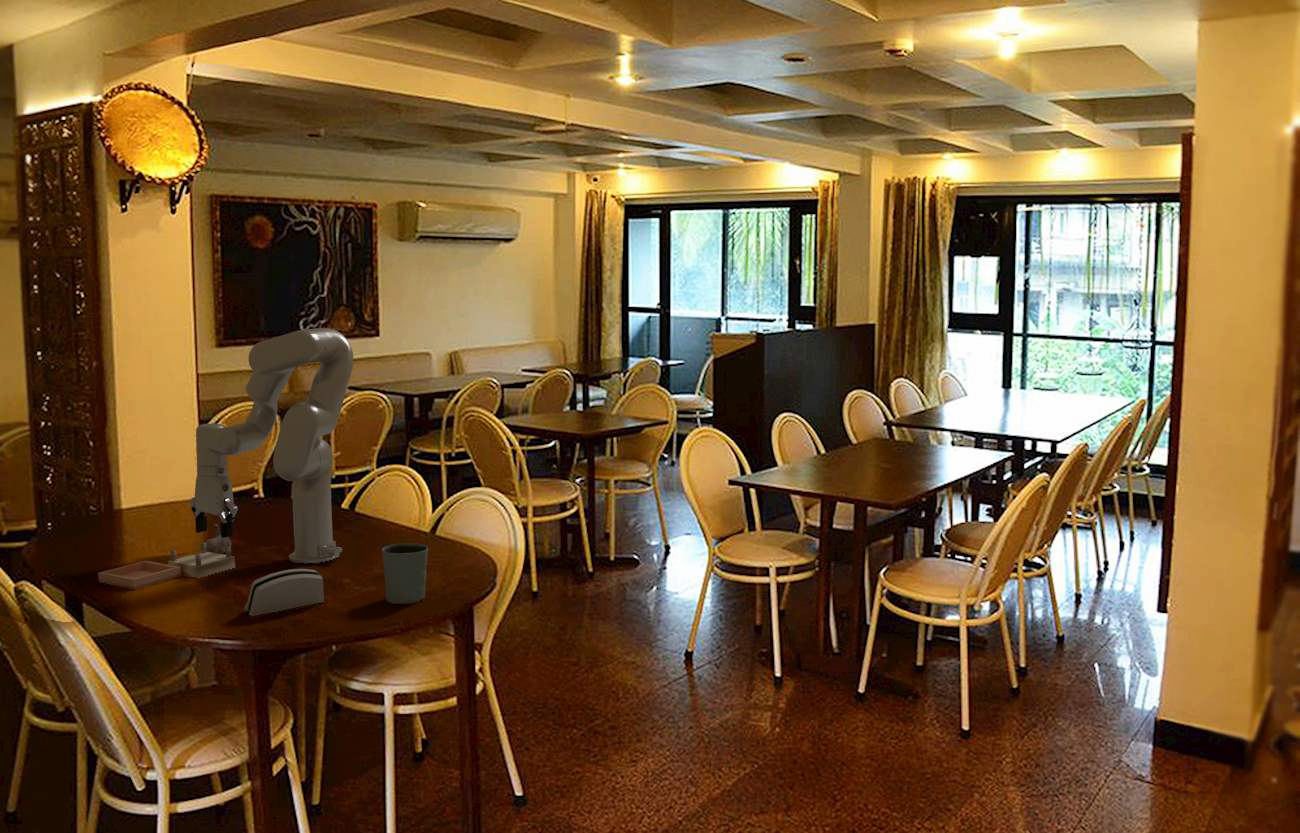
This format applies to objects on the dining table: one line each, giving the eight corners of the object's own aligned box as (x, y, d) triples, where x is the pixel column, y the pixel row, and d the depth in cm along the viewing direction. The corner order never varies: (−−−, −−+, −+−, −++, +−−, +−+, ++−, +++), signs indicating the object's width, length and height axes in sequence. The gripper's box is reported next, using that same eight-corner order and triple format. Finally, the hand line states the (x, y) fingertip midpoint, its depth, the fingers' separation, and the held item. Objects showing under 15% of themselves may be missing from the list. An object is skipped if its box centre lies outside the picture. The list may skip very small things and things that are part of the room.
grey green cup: (375, 599, 253) (373, 547, 251) (413, 590, 260) (412, 540, 258) (399, 608, 246) (397, 555, 244) (438, 599, 253) (436, 547, 251)
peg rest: (235, 568, 280) (234, 546, 280) (198, 578, 271) (197, 556, 270) (205, 562, 286) (204, 541, 285) (168, 572, 276) (167, 551, 275)
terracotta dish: (181, 577, 272) (180, 567, 272) (134, 590, 261) (133, 579, 261) (146, 570, 278) (145, 560, 278) (98, 583, 267) (98, 572, 267)
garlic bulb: (222, 557, 291) (220, 527, 290) (196, 556, 293) (195, 526, 292) (238, 550, 299) (236, 521, 297) (213, 549, 300) (212, 520, 299)
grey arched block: (315, 597, 254) (320, 560, 251) (324, 609, 251) (328, 571, 247) (242, 612, 244) (245, 573, 240) (250, 624, 241) (253, 585, 237)
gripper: (246, 472, 292) (248, 536, 294) (201, 465, 300) (203, 527, 302) (223, 476, 285) (225, 541, 288) (178, 469, 294) (180, 532, 296)
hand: (214, 534), depth 295 cm, fingers open, 9 cm apart
